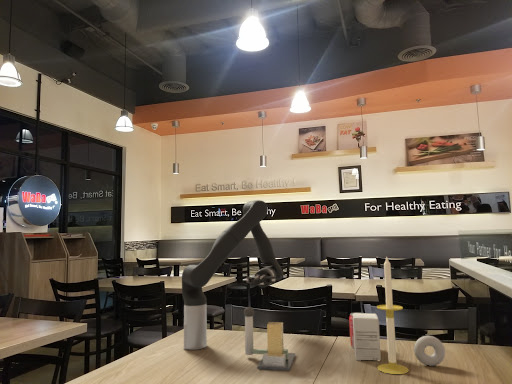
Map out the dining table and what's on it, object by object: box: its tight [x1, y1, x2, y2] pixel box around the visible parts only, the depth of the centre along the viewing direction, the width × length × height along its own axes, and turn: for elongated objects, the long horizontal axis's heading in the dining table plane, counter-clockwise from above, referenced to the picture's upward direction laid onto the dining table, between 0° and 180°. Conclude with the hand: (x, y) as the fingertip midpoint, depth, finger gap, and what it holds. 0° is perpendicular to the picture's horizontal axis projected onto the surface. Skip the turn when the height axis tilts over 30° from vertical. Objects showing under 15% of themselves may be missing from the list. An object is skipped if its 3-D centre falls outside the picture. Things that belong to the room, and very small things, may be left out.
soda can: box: [348, 312, 354, 349], centre depth 157 cm, size 7×7×13 cm
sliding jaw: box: [243, 306, 289, 360], centre depth 145 cm, size 6×17×17 cm, turn 77°
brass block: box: [266, 321, 285, 354], centre depth 139 cm, size 4×5×13 cm
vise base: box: [256, 352, 296, 372], centre depth 141 cm, size 16×11×4 cm, turn 167°
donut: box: [413, 335, 446, 367], centre depth 134 cm, size 10×4×10 cm, turn 80°
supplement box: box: [352, 312, 382, 362], centre depth 145 cm, size 9×9×15 cm
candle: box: [376, 257, 410, 375], centre depth 132 cm, size 10×10×38 cm
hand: (256, 282), depth 155 cm, fingers closed
